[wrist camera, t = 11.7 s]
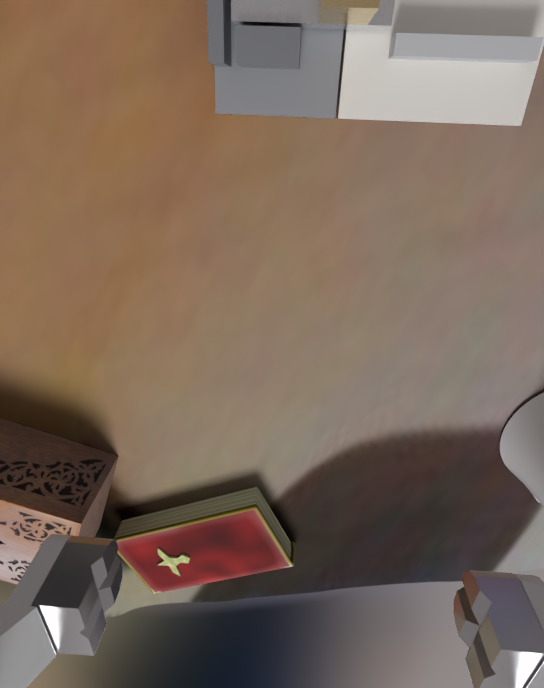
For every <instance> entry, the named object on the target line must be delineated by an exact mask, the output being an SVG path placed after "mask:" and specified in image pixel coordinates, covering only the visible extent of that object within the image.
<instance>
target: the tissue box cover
mask: <svg viewBox="0 0 544 688" xmlns="http://www.w3.org/2000/svg"><path fill="white" fill-rule="evenodd" d="M117 460H118V456H117V455H114V454H111V453H108V452H105V451H102V450H98V449H95V448H92V447H89V446H86V445H83V444H80V443H77V442H74V441H71V440H68V439H64V438H61V437H58V436H55V435H52V434H49V433H46V432H43V431H40V430H37V429H34V428H30V427H27V426H24V425H21V424H18V423H15V422H12V421H9V420H6V419H3V418H0V580H2V581H6V582H10V583H13V584H18V583H19V581H20V579H21V578H22V576H23V575H24V573H25V571H26V570H27V568H28V566H29V565H30V563H31V562H32V560H33V558H34V557H35V555H36V553H37V552H38V550H39V549H40V547H41V545H42V544H43V542H44V540H46V539H47V538H48V537H49V536H50V535H51V534H62V535H74V536H81V537H91V538H94V537H95V535H96V533H97V531H98V529H99V527H100V523H101V519H102V515H103V512H104V508H105V504H106V501H107V497H108V493H109V489H110V486H111V482H112V478H113V474H114V471H115V467H116V463H117Z"/></svg>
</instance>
